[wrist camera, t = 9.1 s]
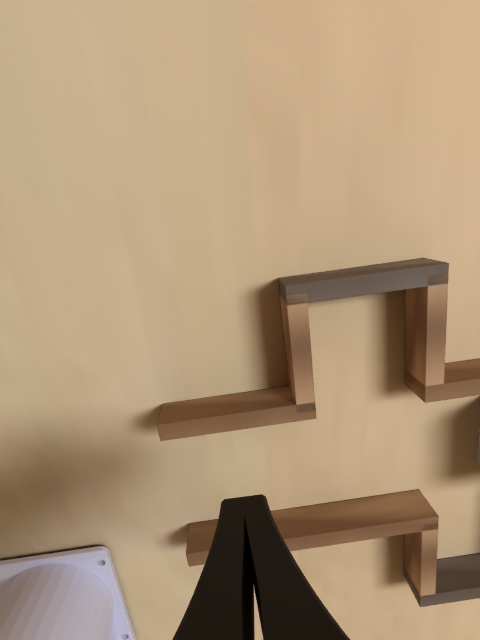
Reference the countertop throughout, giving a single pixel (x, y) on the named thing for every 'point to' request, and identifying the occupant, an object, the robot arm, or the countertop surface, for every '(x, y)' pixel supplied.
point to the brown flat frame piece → (299, 404)
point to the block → (479, 450)
